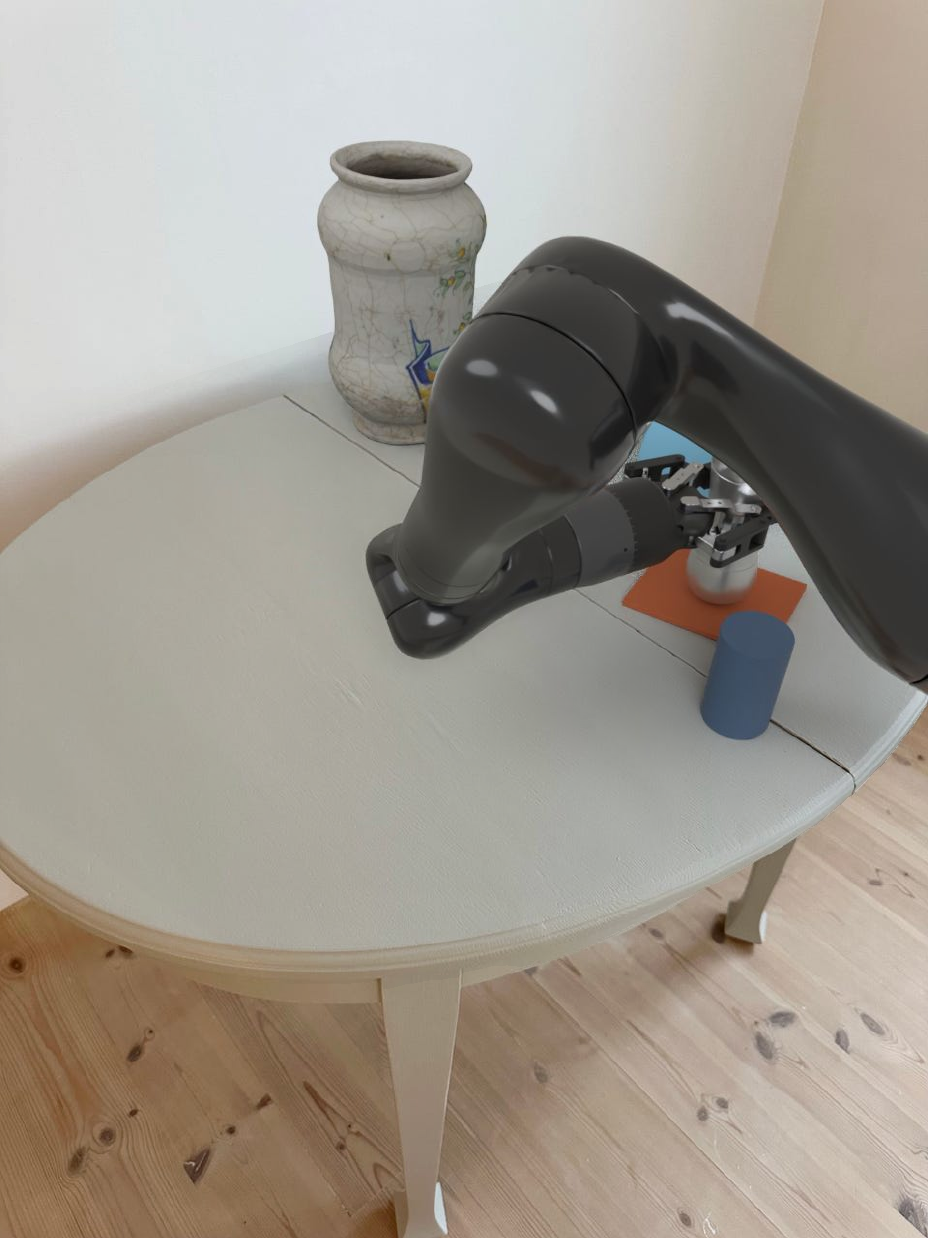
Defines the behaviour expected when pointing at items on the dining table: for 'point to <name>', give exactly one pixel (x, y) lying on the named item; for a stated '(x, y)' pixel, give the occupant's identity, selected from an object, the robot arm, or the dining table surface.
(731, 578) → the silver metal bottle
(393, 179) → the vase
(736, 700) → the blue canister
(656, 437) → the teapot
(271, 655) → the dining table surface
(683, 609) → the terracotta mat
